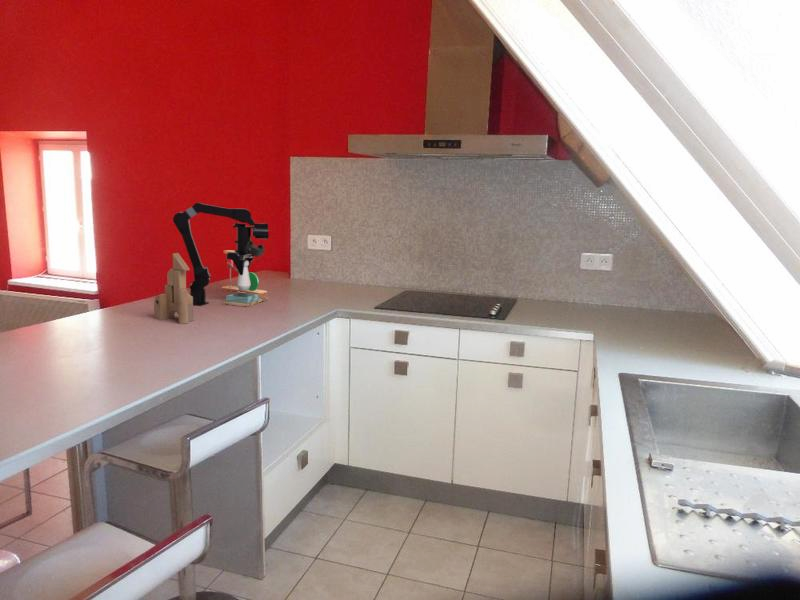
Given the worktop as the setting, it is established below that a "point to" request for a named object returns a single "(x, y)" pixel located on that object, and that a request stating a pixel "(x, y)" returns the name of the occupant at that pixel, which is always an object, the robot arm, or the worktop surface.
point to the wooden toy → (175, 294)
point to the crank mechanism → (252, 277)
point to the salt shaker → (244, 279)
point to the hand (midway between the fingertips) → (243, 274)
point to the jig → (243, 299)
